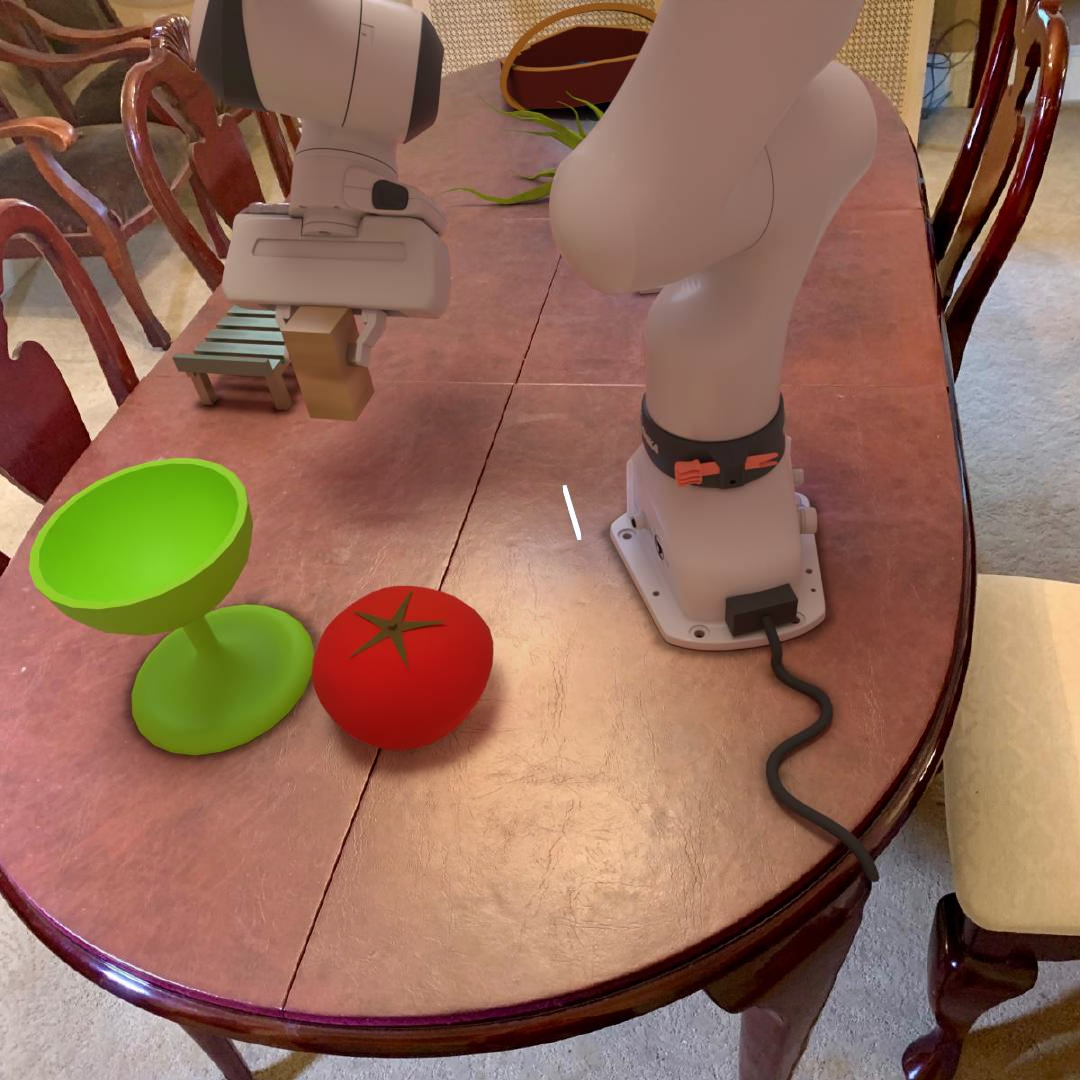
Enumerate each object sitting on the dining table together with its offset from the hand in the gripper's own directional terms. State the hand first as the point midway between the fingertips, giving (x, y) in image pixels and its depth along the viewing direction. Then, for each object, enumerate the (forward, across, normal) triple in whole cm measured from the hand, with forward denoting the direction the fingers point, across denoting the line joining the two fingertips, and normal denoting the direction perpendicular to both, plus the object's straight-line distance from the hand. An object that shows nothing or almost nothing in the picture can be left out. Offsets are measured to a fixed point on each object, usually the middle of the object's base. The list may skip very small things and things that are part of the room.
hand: (326, 364), depth 81 cm
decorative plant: (-38, -1, +64) cm, 75 cm away
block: (+3, 0, +4) cm, 5 cm away
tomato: (+28, +12, -1) cm, 30 cm away
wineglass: (+28, -6, -1) cm, 29 cm away
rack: (-4, -24, +30) cm, 39 cm away
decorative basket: (-68, -2, +94) cm, 116 cm away
